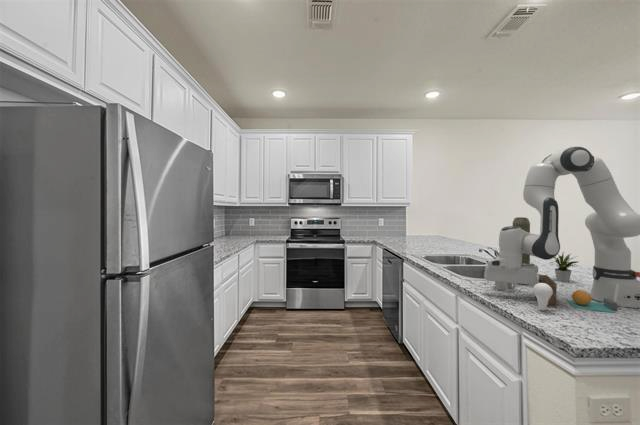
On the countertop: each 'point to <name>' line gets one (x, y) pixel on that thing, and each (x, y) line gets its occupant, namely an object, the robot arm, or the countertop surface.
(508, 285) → the coffee cup
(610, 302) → the stopper wall
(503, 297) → the countertop surface
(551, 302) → the bridge
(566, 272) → the house plant
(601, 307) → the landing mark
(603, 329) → the countertop surface
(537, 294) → the lightbulb
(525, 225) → the thermos
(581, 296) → the ball
